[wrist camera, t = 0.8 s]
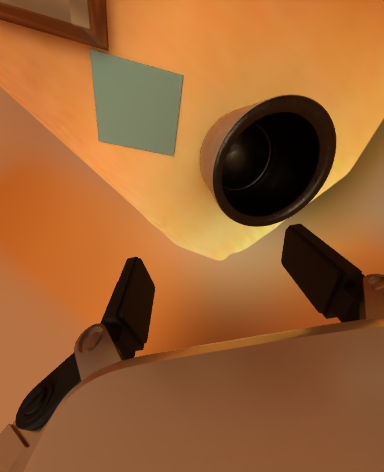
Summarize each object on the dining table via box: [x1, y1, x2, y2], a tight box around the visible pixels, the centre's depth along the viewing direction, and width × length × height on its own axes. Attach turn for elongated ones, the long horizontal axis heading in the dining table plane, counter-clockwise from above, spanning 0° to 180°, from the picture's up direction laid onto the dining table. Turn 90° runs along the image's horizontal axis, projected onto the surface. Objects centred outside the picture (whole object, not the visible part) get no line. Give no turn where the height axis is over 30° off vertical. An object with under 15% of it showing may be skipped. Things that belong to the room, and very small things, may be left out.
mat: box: [90, 49, 183, 156], centre depth 28 cm, size 12×14×1 cm
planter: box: [200, 95, 336, 226], centre depth 27 cm, size 16×16×16 cm
